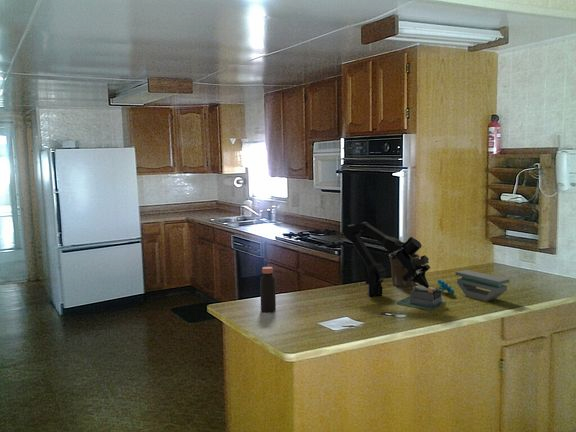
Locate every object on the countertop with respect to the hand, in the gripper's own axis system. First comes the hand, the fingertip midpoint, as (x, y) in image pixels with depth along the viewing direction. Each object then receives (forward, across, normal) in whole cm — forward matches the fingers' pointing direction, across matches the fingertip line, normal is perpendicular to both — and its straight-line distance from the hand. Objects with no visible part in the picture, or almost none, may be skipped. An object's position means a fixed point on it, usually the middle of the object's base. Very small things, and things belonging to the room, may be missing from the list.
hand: (428, 287), depth 248 cm
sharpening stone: (+16, +28, -4) cm, 32 cm away
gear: (+5, +24, +8) cm, 25 cm away
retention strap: (0, 0, +2) cm, 2 cm away
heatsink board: (+3, 0, +9) cm, 9 cm away
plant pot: (-13, +28, +25) cm, 40 cm away
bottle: (-32, -52, +44) cm, 75 cm away
